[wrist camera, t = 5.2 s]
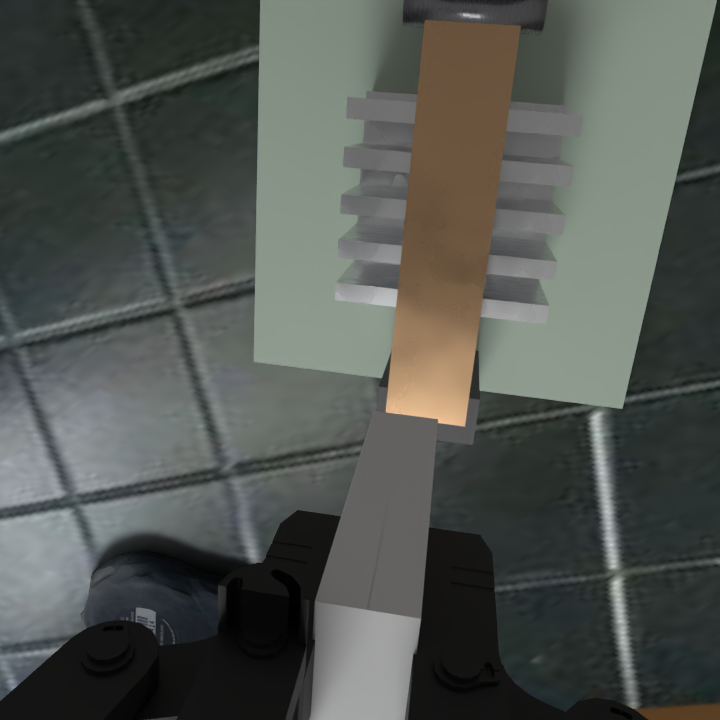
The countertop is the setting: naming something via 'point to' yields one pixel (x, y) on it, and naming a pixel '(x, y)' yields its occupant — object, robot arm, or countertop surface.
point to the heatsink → (512, 212)
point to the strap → (452, 196)
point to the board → (579, 202)
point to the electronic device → (155, 597)
